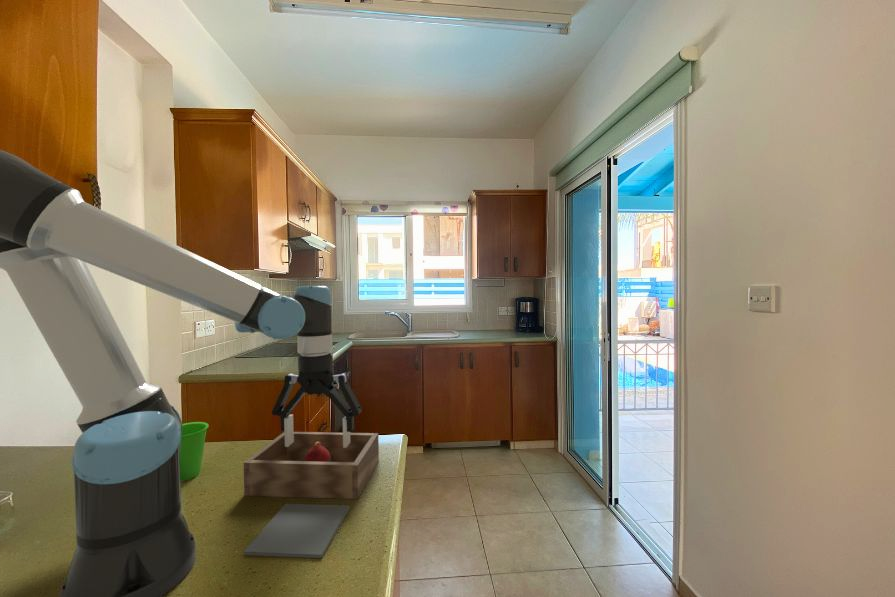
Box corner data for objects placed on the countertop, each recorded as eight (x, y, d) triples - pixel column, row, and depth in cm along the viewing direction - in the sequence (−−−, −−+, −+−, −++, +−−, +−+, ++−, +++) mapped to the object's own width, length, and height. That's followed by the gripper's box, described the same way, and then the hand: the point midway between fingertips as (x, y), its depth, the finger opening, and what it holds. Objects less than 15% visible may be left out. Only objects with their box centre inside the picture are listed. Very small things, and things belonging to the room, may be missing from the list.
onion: (325, 483, 79) (324, 448, 79) (299, 483, 80) (299, 448, 79) (334, 470, 85) (333, 437, 85) (310, 470, 85) (309, 437, 85)
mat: (244, 555, 58) (244, 551, 58) (285, 506, 71) (285, 503, 71) (321, 558, 57) (321, 554, 57) (349, 508, 70) (349, 505, 70)
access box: (244, 495, 75) (243, 462, 75) (284, 458, 91) (284, 431, 91) (358, 498, 73) (357, 465, 73) (378, 460, 90) (378, 433, 90)
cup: (214, 463, 89) (213, 419, 89) (202, 482, 81) (201, 433, 80) (171, 469, 86) (170, 424, 86) (154, 489, 78) (152, 439, 77)
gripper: (373, 350, 85) (375, 438, 85) (272, 350, 86) (274, 437, 87) (364, 356, 77) (366, 452, 78) (253, 356, 79) (256, 451, 79)
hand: (318, 444), depth 82 cm, fingers open, 13 cm apart
